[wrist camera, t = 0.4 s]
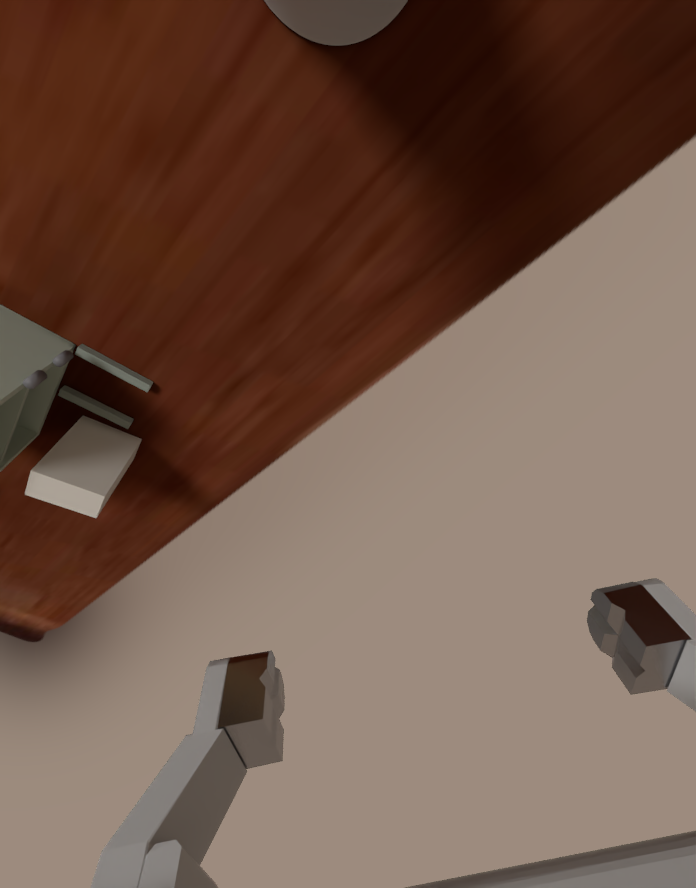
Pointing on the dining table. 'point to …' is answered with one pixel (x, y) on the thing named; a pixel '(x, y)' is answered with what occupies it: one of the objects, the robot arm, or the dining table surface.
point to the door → (83, 467)
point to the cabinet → (43, 381)
